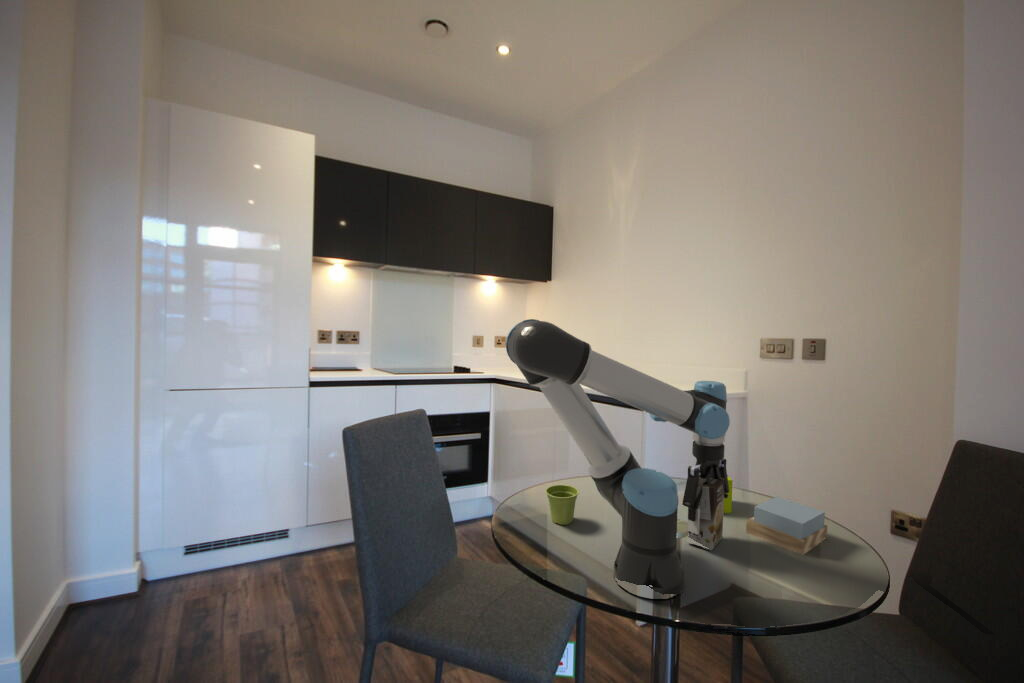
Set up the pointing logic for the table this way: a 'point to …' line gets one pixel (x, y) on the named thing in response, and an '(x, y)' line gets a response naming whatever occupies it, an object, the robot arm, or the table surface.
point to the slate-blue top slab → (789, 517)
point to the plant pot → (562, 503)
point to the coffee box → (710, 513)
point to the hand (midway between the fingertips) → (705, 526)
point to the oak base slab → (786, 537)
